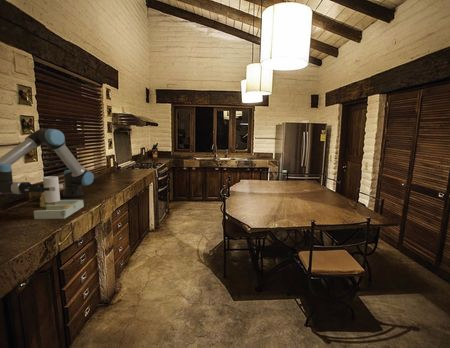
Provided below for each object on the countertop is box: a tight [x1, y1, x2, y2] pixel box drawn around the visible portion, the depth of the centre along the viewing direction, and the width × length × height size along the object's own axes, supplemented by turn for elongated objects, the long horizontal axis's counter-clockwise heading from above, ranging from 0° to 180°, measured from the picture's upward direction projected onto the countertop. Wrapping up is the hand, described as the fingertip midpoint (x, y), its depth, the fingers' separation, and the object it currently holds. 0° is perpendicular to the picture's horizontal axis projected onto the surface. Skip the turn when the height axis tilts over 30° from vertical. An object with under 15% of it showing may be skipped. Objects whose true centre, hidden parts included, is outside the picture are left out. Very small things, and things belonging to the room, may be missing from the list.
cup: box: [42, 175, 61, 203], centre depth 168 cm, size 8×8×16 cm
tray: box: [33, 199, 85, 220], centre depth 177 cm, size 18×28×6 cm, turn 6°
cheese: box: [39, 192, 57, 208], centre depth 194 cm, size 10×11×10 cm
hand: (59, 187), depth 169 cm, fingers closed on cup, 8 cm apart
